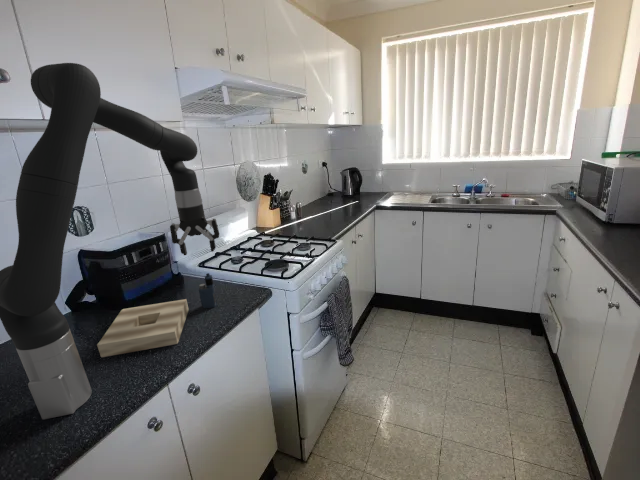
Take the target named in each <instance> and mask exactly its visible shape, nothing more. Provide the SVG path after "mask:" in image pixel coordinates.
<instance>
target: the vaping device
mask: <svg viewBox="0 0 640 480" xmlns="http://www.w3.org/2000/svg"><path fill="white" fill-rule="evenodd" d="M205 274H206V275H205V276H204V282H205V283H201V284H199V285H198V293H199V298H200V304H201V306H202V308H203V309H209V308H215V307H217V306H218V303H217V297H216V292H215V291H216V289H215V285H214V279H213V275H212V274H210V273H205Z"/></svg>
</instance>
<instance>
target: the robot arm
mask: <svg viewBox="0 0 640 480" xmlns="http://www.w3.org/2000/svg"><path fill="white" fill-rule="evenodd" d="M100 86H101V85H100V82H99V81H98V78H97V77H96V75H95V74H94V72H93V71H92V70H91V69H90V68H88V67H87V66H85V65H83V64H81V63H77V62H62V63H53V64H46V65H43V66H40V67H37V69H35V70H34V71H33V73H31V77H30V87H31V90H32V91H33V94H34V95H35V97H36V98H37V99H38V100H39V101H40V102H41V103H42V104H43V105H44V106H46V107H47V108H50V109H51V110H50V115H49V118H48V119H49V120H48V123H47V124H46V128H45V130H44V131H43V133H42V135H41V137H40V138H39V139H38V141H37V142H36V144H35V145H34V147H33V148H32V149H31V150H30V152H29V154H28V155H27V157H26V158H25V161H24V162H23V165H22V167H21V171H20V174H19V178H18V179H19V180H18V185H17V189H16V196H15V213H16V221H17V231H18V244H17V250H16V253H15V258H14V260H13V264H12V265H8V266H6V267H4V268H3V269H1V270H0V321H1V324H2V326H3V328H4V329H5V333H7V335H8V336H9V337H10V339H11V341H12V342H13V345H14V347H15V350H16V352H17V354H18V356H19V359H20V362H21V364H22V366H23V369H24V370H25V373H26V376H27V378H28V381H29V382H28V383H27V386H28V389H29V391H30V394H31V396H32V398H33V400H34V403H35V405H36V408H37V410H38V413H39V415H40V417H41V420H48V419H52V418H56V417H58V418H59V417H62V416H67V415H72V414H74V413H75V412H76V410H78V409H79V408H80V407H81V406H84V404H85V403H86V402H88V401H89V399H90V398H91V396H92V392H93V391H92V387H91V385H90V381H89V379H88V376H87V373H86V371H85V367H84V365H83V363H82V359H81V356H80V354H79V351H78V348H77V346H76V345H77V344H76V342H75V340H74V336H73V334H72V331H71V329H70V325H69V322H68V320H67V317H65V315H64V314H63V313H62V312H61V310H60V308H59V307H58V305H57V303H56V301H57V299H58V297H59V294H60V292H61V291H60V290H61V285H62V284H61V283H62V270H63V256H64V250H65V244H66V241H67V235H68V231H69V228H70V227H69V226H70V222H71V218H72V212H73V209H74V205H75V202H76V196H77V192H78V186H79V181H80V175H81V170H82V165H83V161H84V157H85V152H86V147H87V143H88V138H89V136H90V132H91V129H92V126H93V124H96V125H98V126H102V127H105V129H109V130H110V131H113V132H116V133H118V134H119V135H121V136H124V137H126V138H128V139H130V140H132V141H134V142H136V143H138V144H140V145H141V146H144V147H147V148H148V149H151V150H153V151H159V153H160V157H161V160H162V161H163V163H164V166H165V168H166V170H167V171H168V173H169V175H170V177H171V181H172V185H173V190H174V198H175V199H174V200H175V204H176V205H175V206H176V209H177V214H178V218H179V223H177V224H176V223H171V225H170V226H169V229H170V236H171V237H170V238H171V241H172V242H171V243H172V244H174V245H175V244H177V245H179V249H180V253H181V255H183V256H187V255H188V251H187V247H186V242H185V240H186V238H187V236H188V237H194V236H201V235H203V236H205V238H207V239H208V240H209V247H210V252H212V253H213V252H215V250H216V241H215V240H216V239H218V238H220V231H219V227H218V223H217V219H216V218H212V219H209V220H207V219H206V216H205V215H206V214H205V210H204V206H203V199H202V196H201V195H202V194H201V192H200V188H199V187H200V186H199V183H198V178H197V173H196V171H195V170H193V169H191V168H187V167H186V166H185V164H184V162H189V161H193V160H194V159H196V157H197V155H198V146H197V144H196V142H195V140H193V139H192V138H191V137H190V136H188V135H186V134H184V133H181V132H179V131H176V130H174V129H171V128H167V127H164V126H163V125H161V124H160V123H158V122H157V121H155V120H153V119H151V118H149V117H148V116H146V115H144V114H142V113H140V112H138V111H134V110H132V109H129V108H126V107H124V106H121V105H118V104H115V103H114V102H112V101H111V102H110V101H109V100H106V99H104V98H102V97H101V96H102V94H101V87H100ZM208 225H209V226H210V227H211V228H212V230H213V233H211V232H210V230H209V229H207V226H208ZM179 229H180V230H182V231H183V234H182V236H181V237H180V238H178V231H179Z"/></svg>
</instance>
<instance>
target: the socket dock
mask: <svg viewBox="0 0 640 480" xmlns="http://www.w3.org/2000/svg"><path fill="white" fill-rule="evenodd" d="M189 310H190V309H189V306H188V301H187V298H185V299H178V300H173V301H172V300H171V301H166V302H159V303H153V304H152V303H151V304H146V305H139V306H135V307H128V308H123V309H121V310H120V312H119V313H118V315H117V316H116V317H115V319H114V320H113V322H112V323H111V325H110V326H109V327H108V329H107V330H106V332H105V333H104V334H103V335H102V338H100V340H99V342H98V343H97V344H96V346H97V349H98V353H99V355H100V357H101V358H106V357H112V356H117V355H123V354H128V353H134V352H139V351H145V350H149V349H150V350H151V349H156V348H162V347H167V346H173V345H177V344H179V341H180V338H181V335H182V332H183V329H184V327H185V326H184V325H185V322H186V319H187V316H188V313H189Z"/></svg>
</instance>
